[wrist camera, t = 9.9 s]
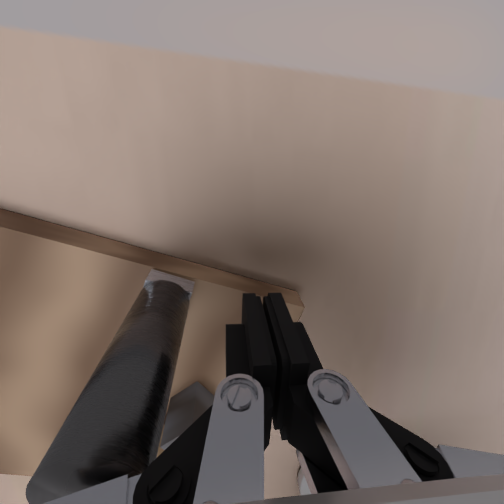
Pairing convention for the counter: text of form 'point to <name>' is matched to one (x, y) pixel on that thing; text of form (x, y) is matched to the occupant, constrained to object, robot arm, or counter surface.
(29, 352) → the board
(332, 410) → the robot arm
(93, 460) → the lever
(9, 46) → the counter surface
